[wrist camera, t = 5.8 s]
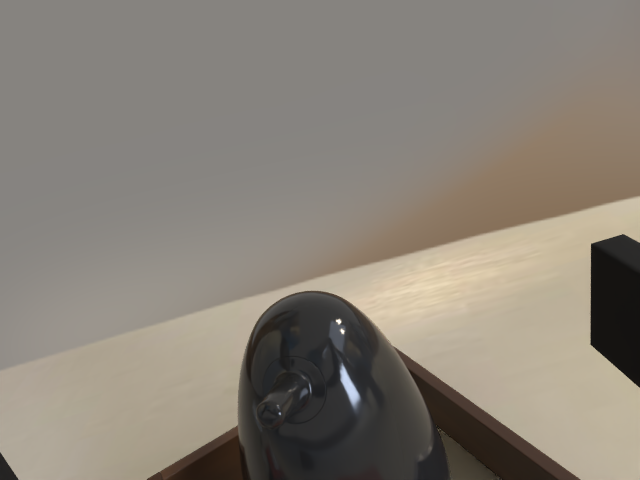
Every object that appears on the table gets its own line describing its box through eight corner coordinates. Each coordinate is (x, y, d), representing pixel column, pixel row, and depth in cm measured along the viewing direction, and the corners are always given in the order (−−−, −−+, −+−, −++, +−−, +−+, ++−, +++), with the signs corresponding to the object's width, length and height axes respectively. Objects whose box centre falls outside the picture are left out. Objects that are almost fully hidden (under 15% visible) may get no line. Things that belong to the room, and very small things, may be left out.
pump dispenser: (245, 632, 25) (126, 396, 19) (298, 455, 34) (229, 253, 28) (464, 660, 22) (412, 390, 16) (458, 458, 31) (424, 233, 25)
